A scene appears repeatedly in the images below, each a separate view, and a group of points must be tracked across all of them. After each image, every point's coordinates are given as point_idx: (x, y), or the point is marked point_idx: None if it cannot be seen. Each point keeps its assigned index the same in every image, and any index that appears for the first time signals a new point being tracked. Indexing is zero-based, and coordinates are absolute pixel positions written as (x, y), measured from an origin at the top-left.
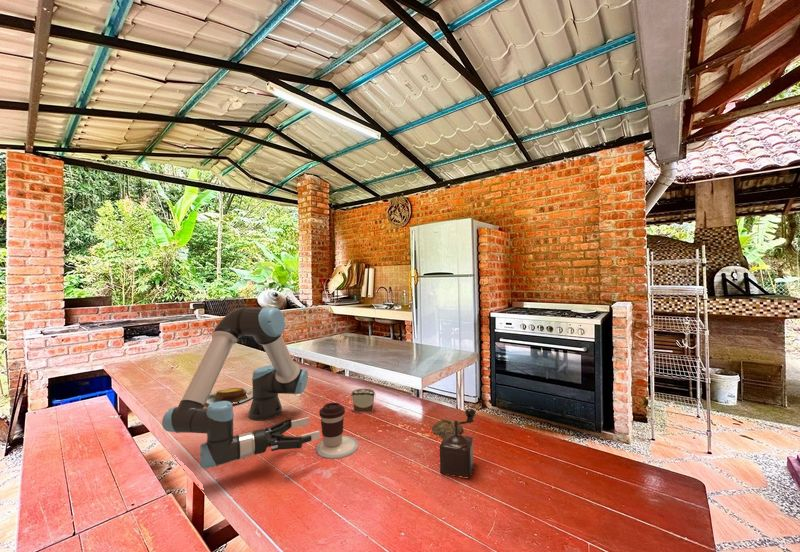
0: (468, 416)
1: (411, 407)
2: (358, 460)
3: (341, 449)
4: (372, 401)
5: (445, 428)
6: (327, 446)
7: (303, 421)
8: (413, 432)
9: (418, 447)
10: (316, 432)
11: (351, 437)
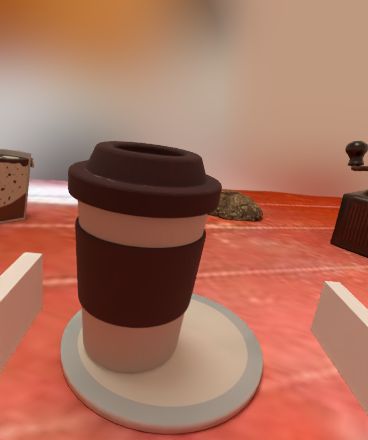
0: (362, 154)
1: None
2: (299, 334)
3: (210, 339)
4: (24, 184)
5: (246, 203)
6: (156, 366)
7: (24, 298)
8: None
9: (273, 245)
10: (352, 298)
11: None
